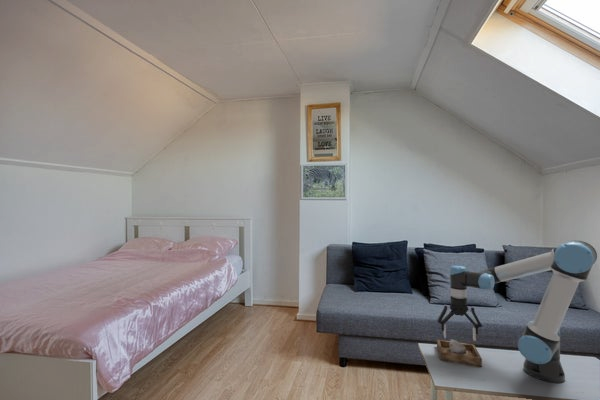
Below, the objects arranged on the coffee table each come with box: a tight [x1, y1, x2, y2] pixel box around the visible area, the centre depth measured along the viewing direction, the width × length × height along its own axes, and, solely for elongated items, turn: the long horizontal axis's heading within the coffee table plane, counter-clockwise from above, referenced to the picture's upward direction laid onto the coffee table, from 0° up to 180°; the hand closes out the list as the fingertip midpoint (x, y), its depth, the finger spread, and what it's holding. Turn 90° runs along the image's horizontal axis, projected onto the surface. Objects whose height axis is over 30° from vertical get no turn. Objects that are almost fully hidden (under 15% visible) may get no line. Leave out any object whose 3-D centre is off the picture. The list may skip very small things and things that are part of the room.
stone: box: [449, 338, 466, 355], centre depth 162 cm, size 10×8×6 cm
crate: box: [436, 339, 483, 368], centre depth 161 cm, size 18×16×4 cm
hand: (459, 338), depth 160 cm, fingers open, 13 cm apart
